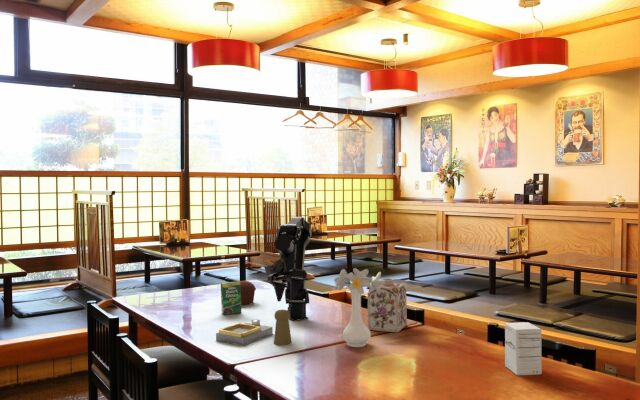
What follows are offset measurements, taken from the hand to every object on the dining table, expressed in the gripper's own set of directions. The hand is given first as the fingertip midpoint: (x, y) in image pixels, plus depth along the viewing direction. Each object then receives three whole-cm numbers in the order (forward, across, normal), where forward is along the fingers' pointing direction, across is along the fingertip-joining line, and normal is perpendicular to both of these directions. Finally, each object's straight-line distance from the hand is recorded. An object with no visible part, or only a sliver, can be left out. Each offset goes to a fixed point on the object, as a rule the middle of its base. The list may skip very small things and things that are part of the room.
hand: (285, 300), depth 188 cm
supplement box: (+21, +69, +37) cm, 81 cm away
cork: (+15, +6, -4) cm, 17 cm away
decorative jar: (+8, +14, +36) cm, 39 cm away
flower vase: (+15, +23, +15) cm, 31 cm away
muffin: (-4, -56, +11) cm, 58 cm away
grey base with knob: (+13, -7, -11) cm, 19 cm away
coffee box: (+2, -42, -1) cm, 42 cm away
